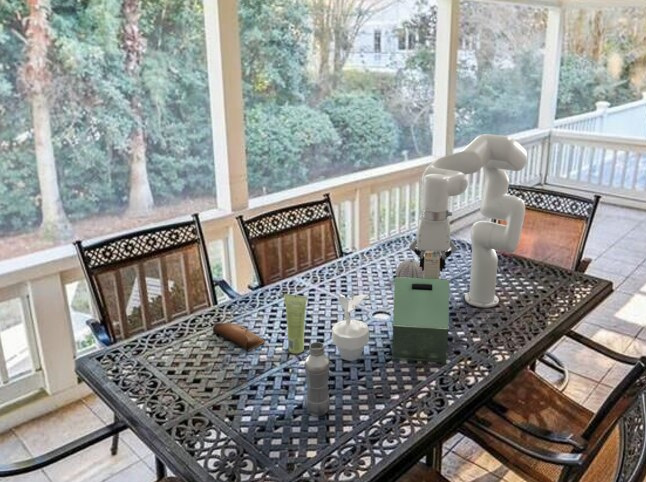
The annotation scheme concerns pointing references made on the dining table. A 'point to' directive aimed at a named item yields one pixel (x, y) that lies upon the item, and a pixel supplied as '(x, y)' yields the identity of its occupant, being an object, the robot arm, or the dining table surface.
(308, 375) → the plastic bottle
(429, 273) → the supplement box
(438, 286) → the bin lid
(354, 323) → the potted plant
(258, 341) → the sunglasses case
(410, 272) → the sea urchin shell
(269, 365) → the dining table surface
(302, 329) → the tube
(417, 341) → the green storage bin
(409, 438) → the dining table surface
